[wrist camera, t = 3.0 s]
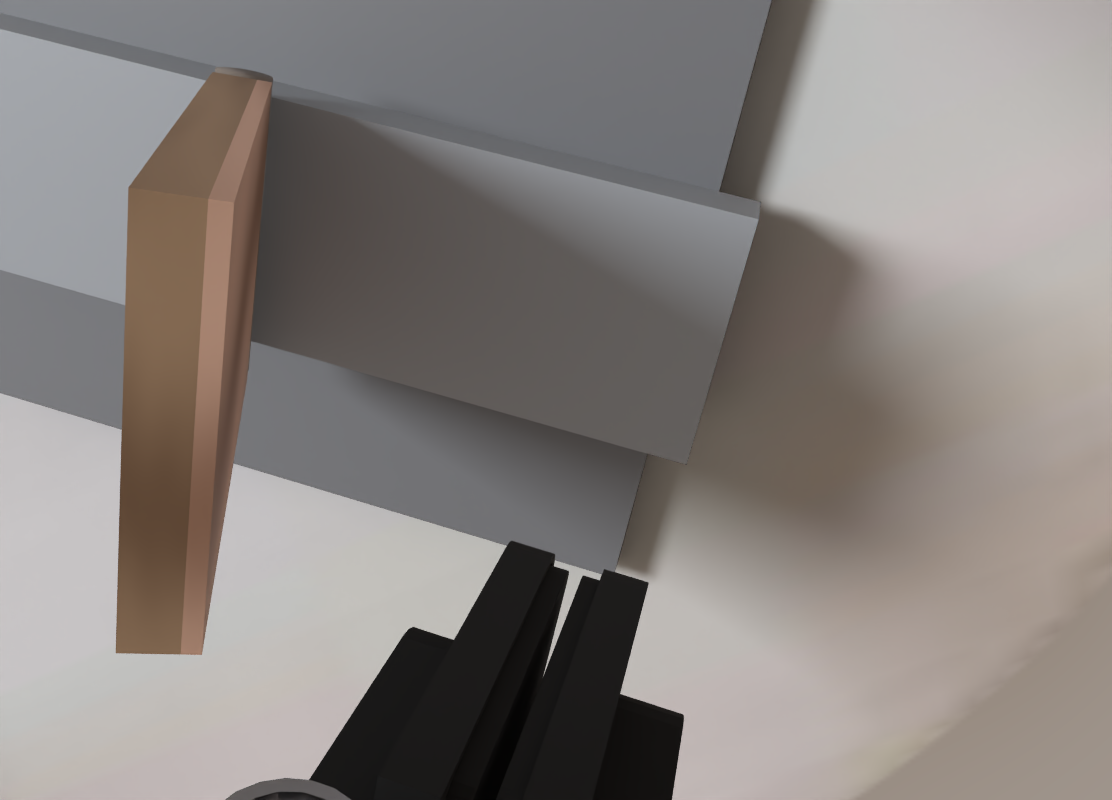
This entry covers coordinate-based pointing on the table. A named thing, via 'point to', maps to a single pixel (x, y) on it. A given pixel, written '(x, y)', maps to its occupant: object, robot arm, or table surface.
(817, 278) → the table surface
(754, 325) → the table surface
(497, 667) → the robot arm
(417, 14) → the grey ridged base plate
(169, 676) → the table surface
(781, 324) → the table surface
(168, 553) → the flap
